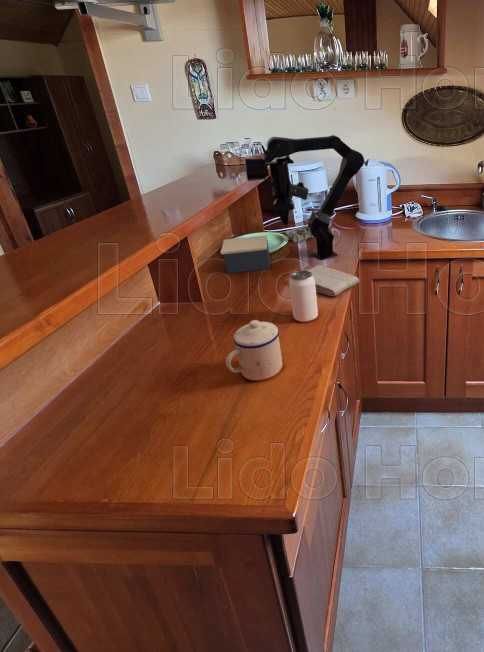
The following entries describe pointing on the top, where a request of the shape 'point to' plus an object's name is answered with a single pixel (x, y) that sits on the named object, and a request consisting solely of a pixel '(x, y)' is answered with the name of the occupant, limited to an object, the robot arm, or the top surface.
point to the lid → (244, 244)
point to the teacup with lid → (257, 351)
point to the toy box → (247, 261)
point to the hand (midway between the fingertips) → (286, 224)
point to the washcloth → (332, 280)
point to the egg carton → (299, 234)
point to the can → (303, 296)
